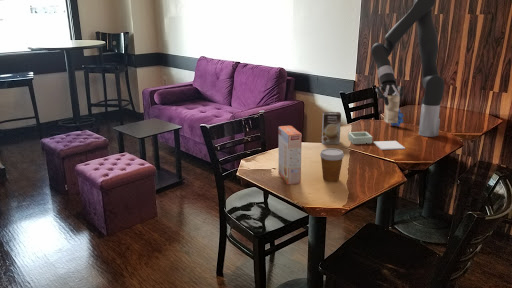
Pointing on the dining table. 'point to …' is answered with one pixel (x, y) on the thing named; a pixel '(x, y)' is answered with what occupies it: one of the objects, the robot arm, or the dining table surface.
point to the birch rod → (392, 109)
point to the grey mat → (388, 145)
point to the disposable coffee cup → (331, 164)
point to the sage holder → (359, 137)
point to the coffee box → (331, 127)
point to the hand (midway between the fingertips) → (393, 104)
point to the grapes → (398, 119)
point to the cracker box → (290, 154)
